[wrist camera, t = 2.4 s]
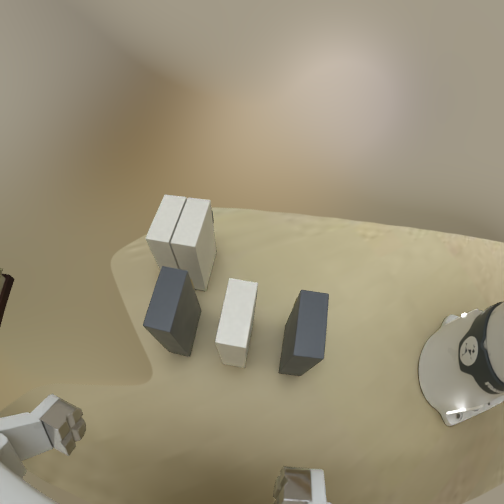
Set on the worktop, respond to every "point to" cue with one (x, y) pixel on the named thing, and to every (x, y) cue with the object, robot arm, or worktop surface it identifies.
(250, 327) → the white book
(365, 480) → the worktop surface
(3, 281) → the decorative book
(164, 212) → the white book
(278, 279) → the worktop surface
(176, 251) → the white book
